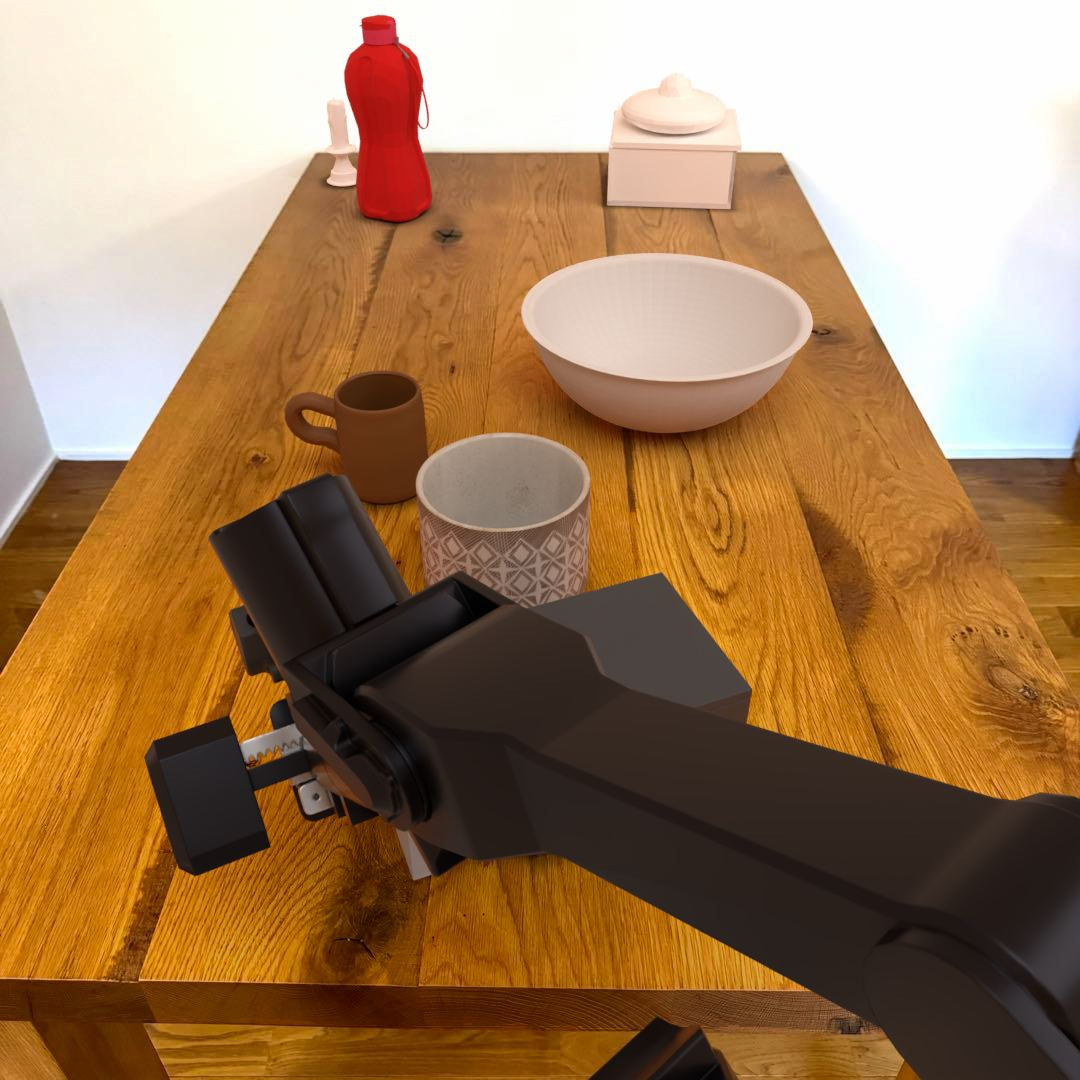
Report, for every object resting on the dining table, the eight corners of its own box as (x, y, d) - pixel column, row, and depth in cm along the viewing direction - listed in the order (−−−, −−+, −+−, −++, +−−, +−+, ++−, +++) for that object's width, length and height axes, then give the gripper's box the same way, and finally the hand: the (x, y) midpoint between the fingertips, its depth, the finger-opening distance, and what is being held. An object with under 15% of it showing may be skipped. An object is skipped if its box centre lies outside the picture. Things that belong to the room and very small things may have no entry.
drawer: (339, 906, 59) (322, 825, 54) (302, 771, 66) (284, 691, 62) (610, 814, 63) (615, 733, 59) (547, 698, 71) (546, 619, 67)
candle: (347, 189, 154) (337, 104, 146) (319, 183, 156) (308, 99, 149) (370, 178, 157) (361, 95, 150) (342, 172, 159) (332, 90, 152)
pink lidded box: (612, 165, 162) (616, 55, 152) (729, 168, 160) (740, 57, 150) (606, 205, 148) (610, 87, 138) (734, 209, 146) (747, 90, 137)
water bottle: (418, 230, 141) (402, 28, 126) (350, 217, 145) (326, 20, 129) (451, 207, 147) (440, 13, 132) (385, 196, 151) (367, 6, 136)
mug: (288, 507, 90) (270, 414, 85) (304, 459, 96) (288, 369, 91) (426, 507, 90) (417, 413, 85) (433, 458, 96) (426, 368, 91)
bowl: (795, 494, 92) (813, 395, 85) (494, 461, 96) (491, 364, 90) (798, 351, 113) (812, 263, 107) (551, 330, 117) (551, 244, 111)
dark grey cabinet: (536, 858, 62) (535, 757, 57) (474, 722, 71) (467, 623, 65) (735, 789, 66) (753, 689, 60) (653, 669, 75) (662, 571, 69)
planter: (619, 603, 80) (625, 493, 74) (476, 666, 75) (469, 553, 69) (532, 521, 89) (531, 415, 82) (398, 571, 83) (386, 463, 77)
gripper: (531, 492, 46) (450, 551, 61) (93, 621, 40) (120, 652, 54) (613, 732, 45) (511, 733, 60) (180, 904, 39) (183, 858, 53)
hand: (339, 738), depth 57 cm, fingers closed
